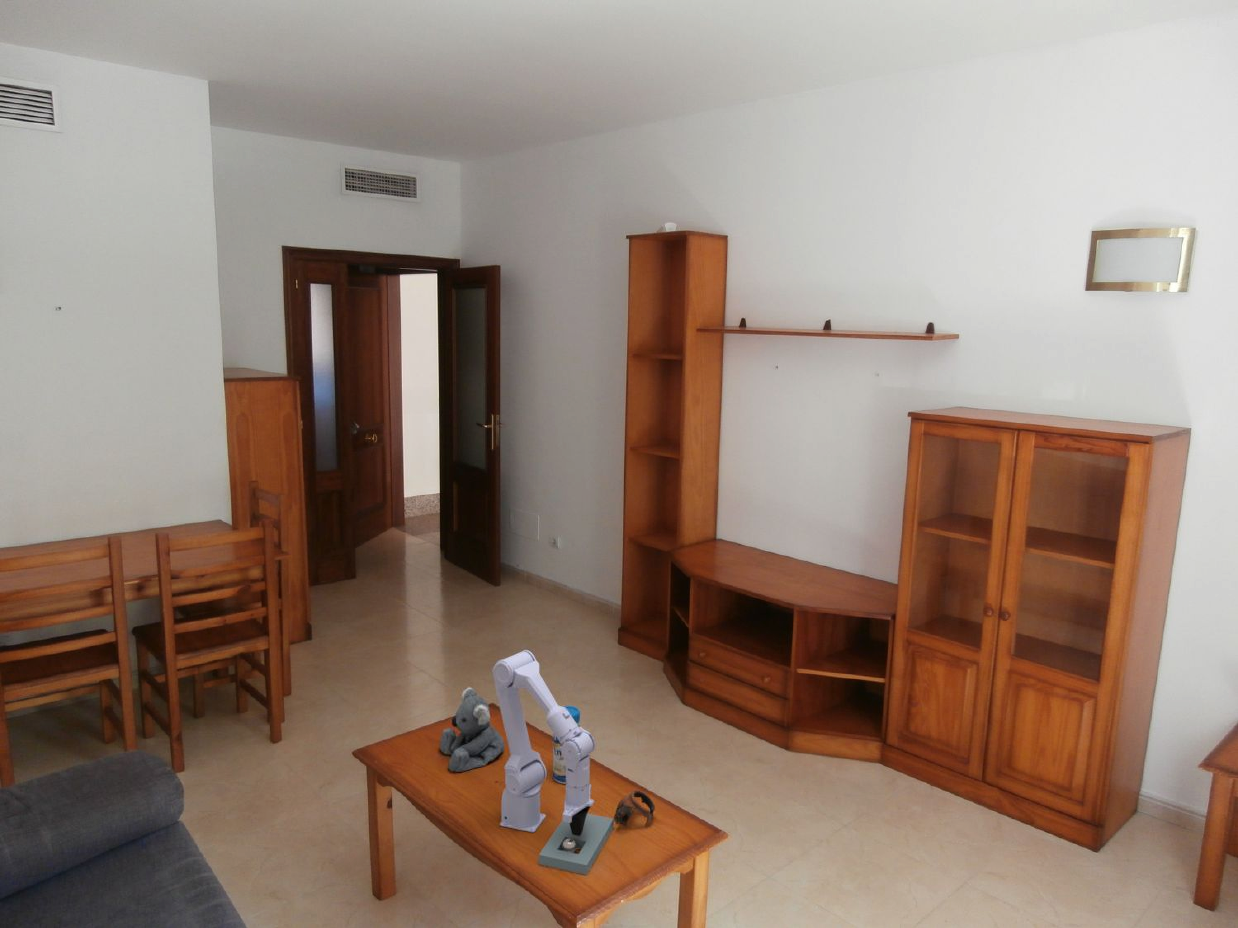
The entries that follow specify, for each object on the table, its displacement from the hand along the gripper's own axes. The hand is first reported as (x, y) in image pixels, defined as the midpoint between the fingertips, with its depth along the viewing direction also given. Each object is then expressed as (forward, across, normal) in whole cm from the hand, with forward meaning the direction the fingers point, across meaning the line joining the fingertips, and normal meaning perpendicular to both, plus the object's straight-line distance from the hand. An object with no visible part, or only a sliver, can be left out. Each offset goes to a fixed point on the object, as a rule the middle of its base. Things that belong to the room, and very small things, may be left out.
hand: (577, 833), depth 208 cm
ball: (+2, -3, +1) cm, 4 cm away
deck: (+3, 0, 0) cm, 3 cm away
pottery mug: (+4, +15, -9) cm, 18 cm away
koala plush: (+4, +32, +44) cm, 54 cm away
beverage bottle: (+4, +30, +14) cm, 33 cm away
